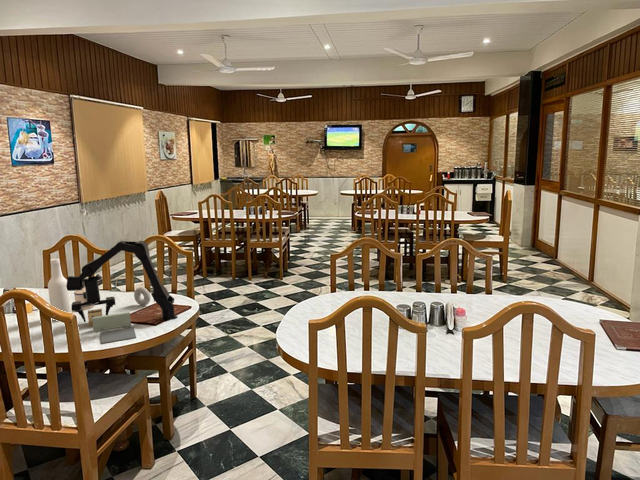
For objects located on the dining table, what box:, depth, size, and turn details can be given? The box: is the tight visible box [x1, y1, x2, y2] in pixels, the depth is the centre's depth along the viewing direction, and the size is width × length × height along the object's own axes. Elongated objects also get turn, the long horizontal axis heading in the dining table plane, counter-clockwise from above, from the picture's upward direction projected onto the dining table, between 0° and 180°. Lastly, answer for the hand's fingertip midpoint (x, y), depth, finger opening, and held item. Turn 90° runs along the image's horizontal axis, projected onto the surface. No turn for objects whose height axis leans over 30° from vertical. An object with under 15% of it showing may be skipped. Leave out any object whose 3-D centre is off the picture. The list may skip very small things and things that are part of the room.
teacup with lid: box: [73, 287, 95, 311], centre depth 252 cm, size 12×9×12 cm
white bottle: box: [47, 257, 73, 314], centre depth 234 cm, size 9×9×30 cm
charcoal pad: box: [100, 326, 137, 345], centre depth 213 cm, size 14×14×1 cm
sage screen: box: [92, 311, 132, 333], centre depth 222 cm, size 6×16×6 cm, turn 115°
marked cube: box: [87, 308, 103, 327], centre depth 228 cm, size 6×6×6 cm
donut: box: [133, 286, 151, 307], centre depth 252 cm, size 10×3×10 cm, turn 66°
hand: (95, 320), depth 229 cm, fingers open, 9 cm apart
